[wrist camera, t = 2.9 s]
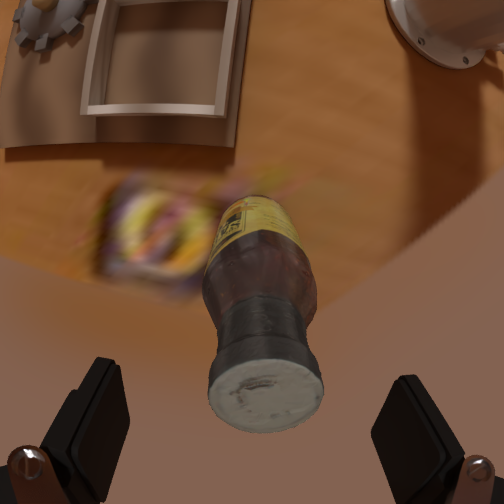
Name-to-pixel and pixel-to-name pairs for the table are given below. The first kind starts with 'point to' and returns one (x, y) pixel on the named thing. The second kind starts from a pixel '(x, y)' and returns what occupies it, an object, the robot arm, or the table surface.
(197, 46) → the gear board
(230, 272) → the sauce bottle
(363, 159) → the table surface
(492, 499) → the robot arm
